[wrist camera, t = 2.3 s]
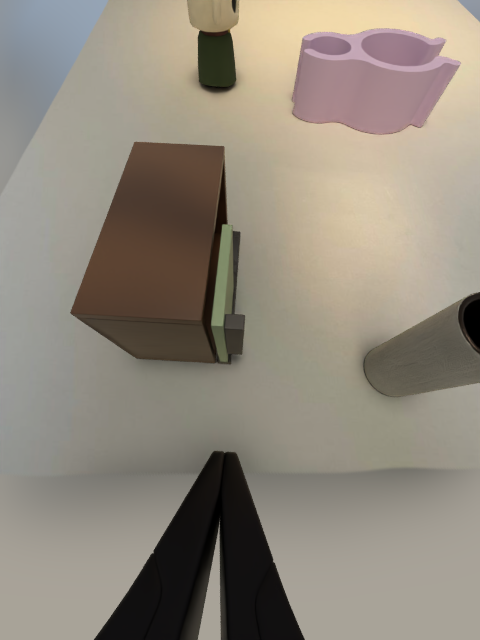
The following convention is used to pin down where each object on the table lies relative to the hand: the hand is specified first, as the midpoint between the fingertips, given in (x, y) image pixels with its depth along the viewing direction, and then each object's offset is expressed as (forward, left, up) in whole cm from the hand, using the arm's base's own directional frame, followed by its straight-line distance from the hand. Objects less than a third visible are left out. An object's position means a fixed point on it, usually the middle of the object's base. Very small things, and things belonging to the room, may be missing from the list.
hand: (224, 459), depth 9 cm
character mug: (+41, +36, -12) cm, 56 cm away
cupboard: (+8, +12, -12) cm, 19 cm away
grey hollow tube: (+13, -8, -12) cm, 19 cm away
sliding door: (+8, +6, -11) cm, 15 cm away
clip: (+49, +14, -12) cm, 53 cm away
